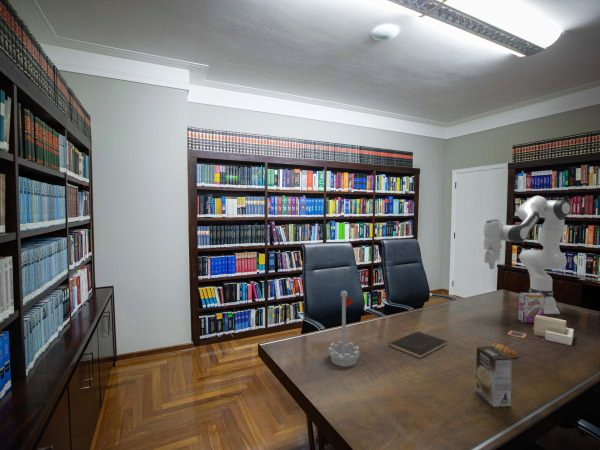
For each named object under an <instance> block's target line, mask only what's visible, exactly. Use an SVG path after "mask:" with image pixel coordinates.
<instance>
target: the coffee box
mask: <svg viewBox="0 0 600 450" xmlns="http://www.w3.org/2000/svg"><path fill="white" fill-rule="evenodd" d="M512 366H513V358H511V357H509V356H508V355H506V354H504V353H503V352H501V351H500V350H498V349H497V348H495V347H494V346H492V345H490V346H477V347H476V365H475V369H476V371H475V376H476V377H475V391H476V392H477V393H478V394H479V396H481V397H482V398H483V399H484V400H485V401H486V402H487V403H488V404H490V405H491V406H492V407H493V408H496V407H497V408H498V407H499V406H501V407H510V406H511V401H512V400H511V397H512V373H513V372H512V369H513V367H512Z"/></svg>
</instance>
